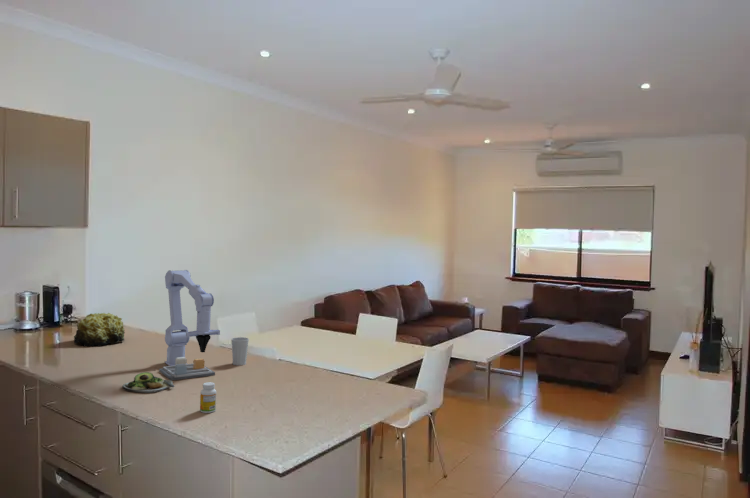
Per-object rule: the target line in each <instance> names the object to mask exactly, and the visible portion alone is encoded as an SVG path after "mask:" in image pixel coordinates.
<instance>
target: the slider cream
mask: <svg viewBox="0 0 750 498" xmlns="http://www.w3.org/2000/svg"><path fill="white" fill-rule="evenodd" d="M187 361H188V359H187V357H186V356H185V357H178V358H176V360H175V366H176V364H186V365H187V364H188V363H187Z"/></svg>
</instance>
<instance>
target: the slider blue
mask: <svg viewBox="0 0 750 498" xmlns="http://www.w3.org/2000/svg"><path fill="white" fill-rule="evenodd" d="M186 373H187V366H186V364H176V366H175V375H182V374H186Z"/></svg>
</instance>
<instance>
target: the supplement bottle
mask: <svg viewBox="0 0 750 498" xmlns="http://www.w3.org/2000/svg"><path fill="white" fill-rule="evenodd" d="M215 386H216V384H215V382H210V381H209V382H204V383H203V384H202V389H201V390H200V396H199V398H200V402H199V404H200V405H199V411H200V412H201V413H202V414H210V413H214V412H216V410H217V390H216V389H215Z"/></svg>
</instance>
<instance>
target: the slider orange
mask: <svg viewBox="0 0 750 498" xmlns="http://www.w3.org/2000/svg"><path fill="white" fill-rule="evenodd" d="M192 364H193V369H202V368H204V366H205V364H206V363H205V359H204V358H201V357H200V358H194V360H192Z"/></svg>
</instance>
